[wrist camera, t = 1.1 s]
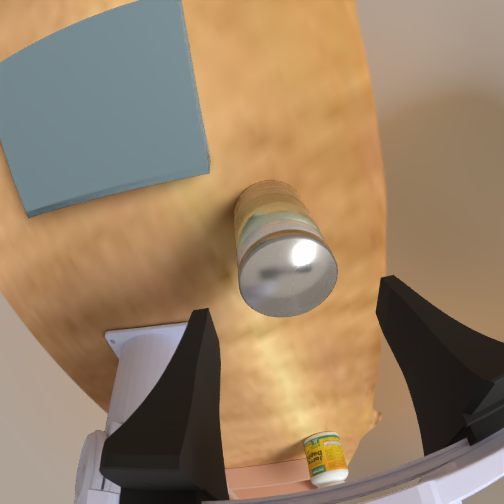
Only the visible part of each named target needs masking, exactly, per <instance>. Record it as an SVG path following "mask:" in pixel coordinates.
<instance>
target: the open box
mask: <svg viewBox="0 0 504 504" xmlns="http://www.w3.org/2000/svg"><path fill="white" fill-rule="evenodd" d="M225 474H226V480H227V483H228V489H229V494H230V495H231V496H232V497H233V498H234V499H235V500H240V499H251V498H261V497H269V496H277V495H284V494H290V493H296V492H302V491H308V490H313V489H318V488H319V486H315V485H314V484H312V482H311V479H310V474H309V469H308V464H307V458H304V459H299V460H293V461H287V462H281V463H274V464H267V465H260V466H251V467H242V468H231V469H225Z"/></svg>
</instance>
